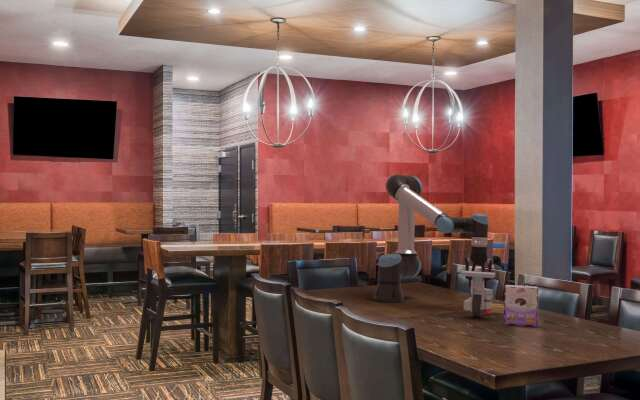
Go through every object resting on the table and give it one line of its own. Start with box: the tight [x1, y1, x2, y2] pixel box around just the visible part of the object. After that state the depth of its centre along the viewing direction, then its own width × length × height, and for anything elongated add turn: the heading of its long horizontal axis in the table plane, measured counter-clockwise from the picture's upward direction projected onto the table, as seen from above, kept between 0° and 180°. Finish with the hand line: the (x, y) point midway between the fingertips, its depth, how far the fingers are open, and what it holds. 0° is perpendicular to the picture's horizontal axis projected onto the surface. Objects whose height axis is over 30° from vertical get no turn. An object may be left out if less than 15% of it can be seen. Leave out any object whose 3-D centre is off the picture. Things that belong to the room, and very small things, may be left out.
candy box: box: [503, 284, 539, 328], centre depth 292 cm, size 14×6×16 cm, turn 71°
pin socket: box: [492, 303, 504, 315], centre depth 327 cm, size 9×9×3 cm
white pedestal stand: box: [460, 270, 496, 318], centre depth 309 cm, size 14×10×20 cm
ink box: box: [470, 288, 494, 316], centre depth 319 cm, size 8×5×12 cm, turn 39°
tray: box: [463, 296, 472, 312], centre depth 333 cm, size 16×10×4 cm, turn 157°
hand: (477, 294), depth 334 cm, fingers open, 5 cm apart
